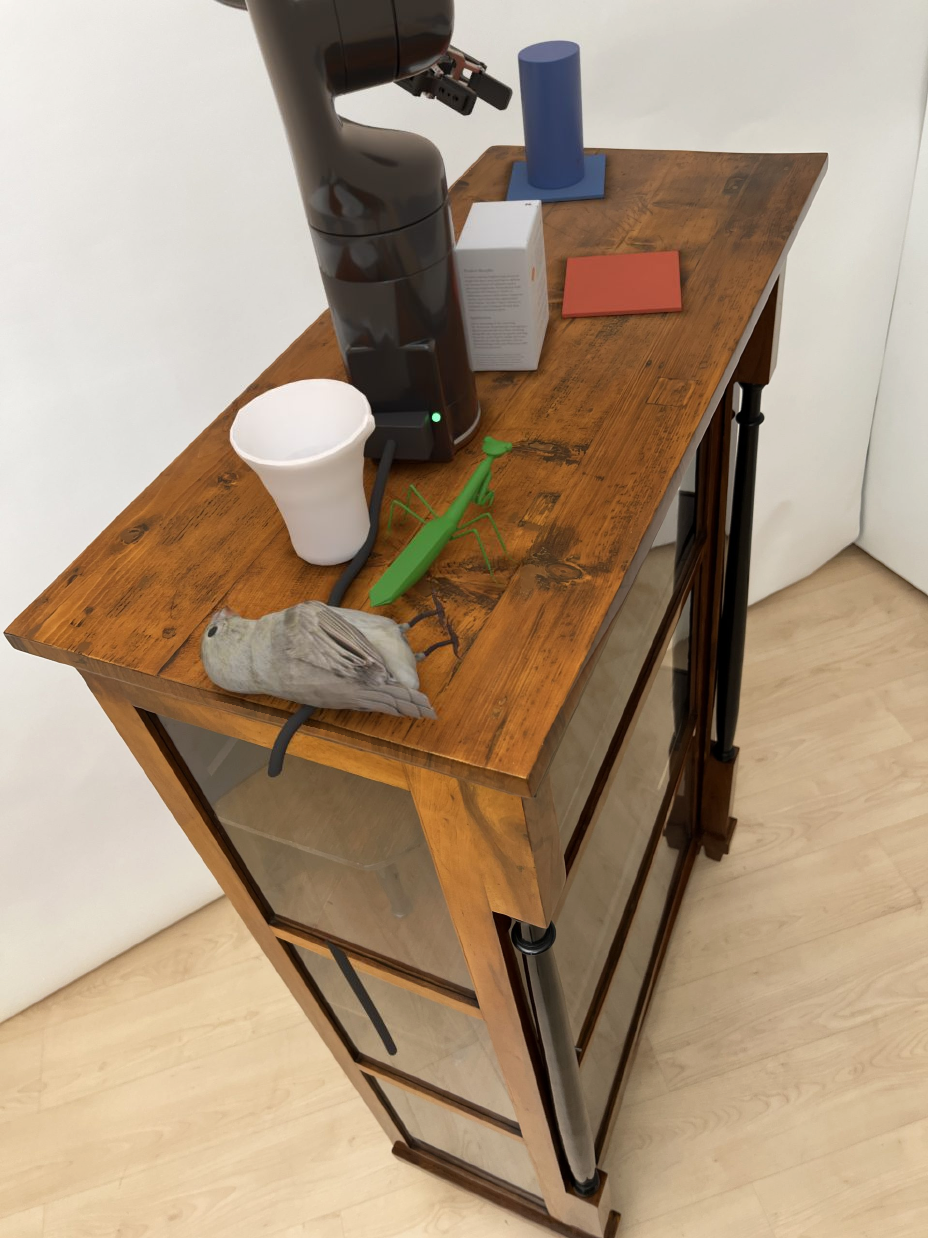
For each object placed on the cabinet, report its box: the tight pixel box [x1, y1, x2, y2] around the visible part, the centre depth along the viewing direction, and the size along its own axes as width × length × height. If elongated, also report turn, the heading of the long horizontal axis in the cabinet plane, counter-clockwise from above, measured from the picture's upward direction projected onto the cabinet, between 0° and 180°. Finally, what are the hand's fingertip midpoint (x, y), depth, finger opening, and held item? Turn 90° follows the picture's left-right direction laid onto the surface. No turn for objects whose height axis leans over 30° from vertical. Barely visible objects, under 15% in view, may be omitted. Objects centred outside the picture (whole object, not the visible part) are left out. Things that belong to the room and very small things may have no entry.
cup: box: [229, 378, 375, 566], centre depth 61 cm, size 9×9×10 cm
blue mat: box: [505, 153, 607, 204], centre depth 100 cm, size 10×10×1 cm
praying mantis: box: [368, 435, 516, 608], centre depth 61 cm, size 9×15×4 cm, turn 146°
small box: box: [456, 200, 550, 372], centre depth 75 cm, size 8×6×10 cm
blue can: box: [517, 39, 585, 189], centre depth 96 cm, size 6×6×12 cm
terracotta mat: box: [561, 250, 683, 319], centre depth 83 cm, size 10×10×1 cm
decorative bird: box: [200, 582, 463, 721], centre depth 54 cm, size 5×16×7 cm
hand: (491, 103), depth 94 cm, fingers open, 8 cm apart
